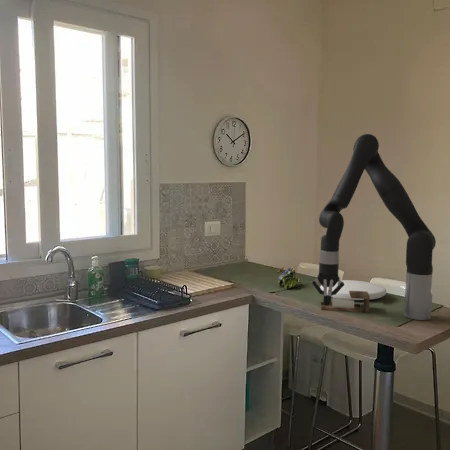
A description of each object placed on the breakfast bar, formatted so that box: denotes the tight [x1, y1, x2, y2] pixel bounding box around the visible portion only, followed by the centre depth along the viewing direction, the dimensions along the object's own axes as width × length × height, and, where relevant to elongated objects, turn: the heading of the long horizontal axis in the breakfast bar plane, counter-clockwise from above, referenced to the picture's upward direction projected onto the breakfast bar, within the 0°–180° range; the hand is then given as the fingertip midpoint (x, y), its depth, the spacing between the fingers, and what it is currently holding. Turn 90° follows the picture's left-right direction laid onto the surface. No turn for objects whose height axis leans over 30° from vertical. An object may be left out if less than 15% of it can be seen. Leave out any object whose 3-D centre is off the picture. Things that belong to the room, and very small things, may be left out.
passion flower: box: [276, 266, 302, 290], centre depth 243 cm, size 11×11×12 cm
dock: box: [320, 291, 370, 314], centre depth 205 cm, size 18×8×7 cm, turn 81°
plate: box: [319, 279, 387, 301], centre depth 228 cm, size 28×6×27 cm
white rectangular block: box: [332, 296, 355, 308], centre depth 205 cm, size 8×5×4 cm, turn 81°
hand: (326, 304), depth 206 cm, fingers closed
